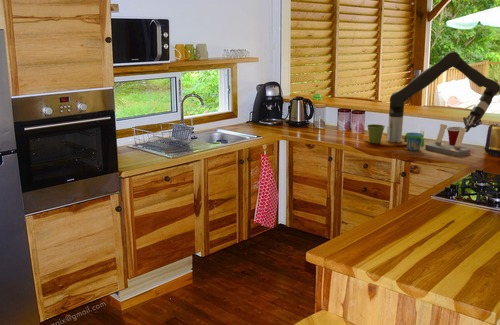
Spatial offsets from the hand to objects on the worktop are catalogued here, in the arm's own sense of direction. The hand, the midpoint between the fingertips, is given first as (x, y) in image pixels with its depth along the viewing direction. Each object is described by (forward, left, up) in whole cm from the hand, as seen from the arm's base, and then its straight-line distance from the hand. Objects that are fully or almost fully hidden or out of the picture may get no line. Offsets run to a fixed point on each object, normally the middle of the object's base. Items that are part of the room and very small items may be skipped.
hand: (465, 131), depth 339 cm
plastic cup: (+2, +18, -14) cm, 22 cm away
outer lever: (-6, -3, -9) cm, 11 cm away
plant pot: (-46, +33, -14) cm, 58 cm away
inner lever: (-13, +9, -9) cm, 18 cm away
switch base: (-9, +3, -13) cm, 16 cm away
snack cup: (-28, +10, -14) cm, 33 cm away
